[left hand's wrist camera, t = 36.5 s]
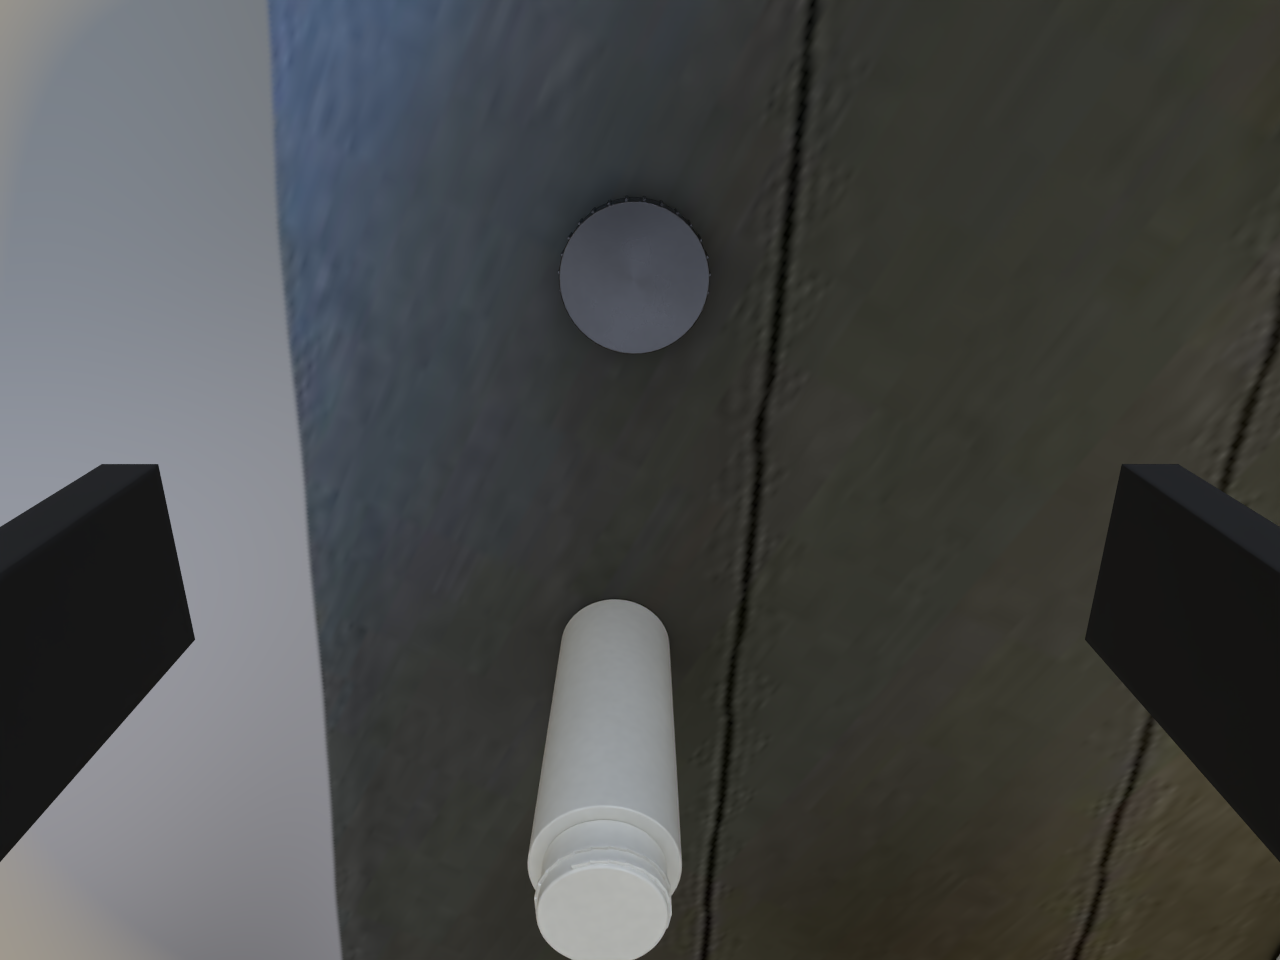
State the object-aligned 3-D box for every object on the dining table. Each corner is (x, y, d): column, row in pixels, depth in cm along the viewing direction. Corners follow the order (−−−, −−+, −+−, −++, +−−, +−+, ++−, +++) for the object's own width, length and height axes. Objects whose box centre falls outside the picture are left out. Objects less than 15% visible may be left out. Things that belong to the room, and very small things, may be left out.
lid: (552, 203, 37) (546, 208, 35) (701, 187, 37) (705, 191, 34) (571, 349, 39) (567, 362, 37) (712, 335, 39) (717, 348, 37)
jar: (682, 676, 45) (704, 957, 30) (581, 703, 46) (552, 992, 30) (651, 586, 43) (656, 836, 28) (546, 615, 44) (495, 876, 29)
